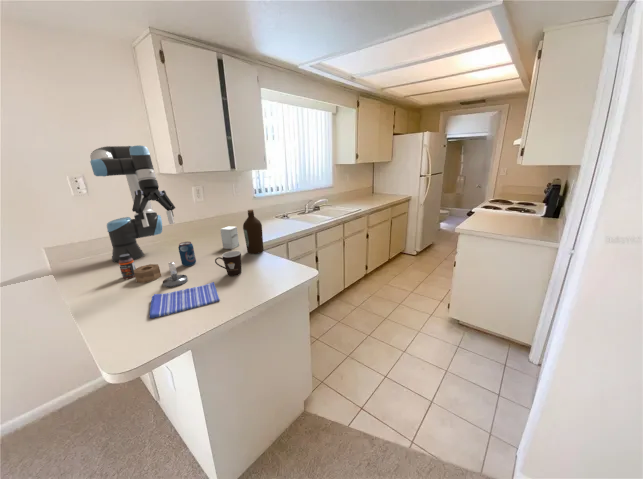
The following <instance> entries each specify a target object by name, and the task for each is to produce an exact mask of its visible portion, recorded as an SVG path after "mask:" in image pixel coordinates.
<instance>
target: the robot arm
mask: <svg viewBox="0 0 643 479" xmlns="http://www.w3.org/2000/svg"><path fill="white" fill-rule="evenodd" d="M89 162H90V166H91V169H92V173H93V175H94V176H95V177H112V176H125V178H126V181H127V184H128V188H129V192H130V196H131V199H132V202H133V203H132V208H131V209H132V212H135V214H134V216H133V217H134V218H131V217H129V216H126V217H119V218H116V219H113V220H110V221H108V222H107V223H106V230H107V231H106V232H107V233H108V236H109V240H110V243H111V246H112V256H111V260H112V262H114V263H118V262H119V260H120V257H119V256H120V255H123V254H129V255H130V257H131V258H133V260H134V261H135V260H138V259H139V258H140V259H141V257H143V256H144V251H143V250H142V249H141V246H140V245H139V244H138V243H137V239H141V238H146V237H153V236H157V235H161V234H162V232H163V221H162V220H163V219H162V216H161V215H159V214H157V211H155V210H153V206H152V202H153V201H154V202H157V203H159V204H160V205H161V206H162V207H163V208H164V209H165V210H166V211H165V213H166V215H167V216H166V217H167V221H168V224H169V225H173V224H175V218H174V216H175V215H174V212H173V210H175V209H176V206H175V205H174V203H173V202H172V201H171V199H170V198H169V196H168V195H167V192H166V191H165V190H161V191H160V190H159V183H158V180H157V176H156V172H155V169H154V165H153V160H152V158H151V153H150V151H149V148H148V147H147V146H145V145H125V146H124V145H122V146H121V145H120V146H119V145H116V146H115V145H114V146H111V145H110V146H108V145H106V146H101V147H98V148H96V149H94V150H93V151H91V153H90V161H89Z"/></svg>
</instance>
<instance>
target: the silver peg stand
mask: <svg viewBox="0 0 643 479" xmlns="http://www.w3.org/2000/svg"><path fill="white" fill-rule="evenodd" d="M168 267H169V273H170V276H169V277H167V278H165V279H164V280H162V285H163V287H164V288H168V289H169V288H176V287H179V286H183V285H184V284H186V283H187V282H188V281H189V278H188V275H186V274H178V272H177V269H176V264H175V262H174V261H172V262H169V263H168Z"/></svg>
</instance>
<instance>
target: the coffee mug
mask: <svg viewBox="0 0 643 479" xmlns="http://www.w3.org/2000/svg"><path fill="white" fill-rule="evenodd" d="M218 259H220V260H222V261H223V263H224V266H223V265H221V264H220V263H218V262H217V260H218ZM214 261H215V264H216V265H217V266H219V267H220V268H222V269H225V270H226V273H227V274H226V275H227V276H228V277H237V276H239V275H241V274H242V252H241V251H240V250H230V251H226V252H223V253H222V254H221V257H220V256H218V257H216V258H215V259H214Z"/></svg>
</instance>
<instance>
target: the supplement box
mask: <svg viewBox="0 0 643 479" xmlns="http://www.w3.org/2000/svg"><path fill="white" fill-rule="evenodd" d="M219 230H220V238H221V243H222V248H223V249H227V250H234V249H236V248H237V247H238V246H240V242H239V233H238V227H237V226H226V227H222V228H220V229H219Z"/></svg>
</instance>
